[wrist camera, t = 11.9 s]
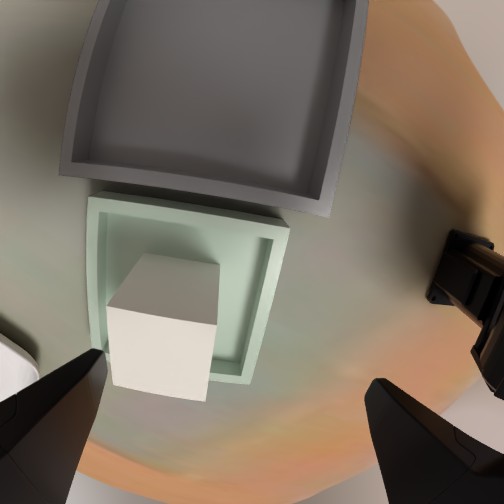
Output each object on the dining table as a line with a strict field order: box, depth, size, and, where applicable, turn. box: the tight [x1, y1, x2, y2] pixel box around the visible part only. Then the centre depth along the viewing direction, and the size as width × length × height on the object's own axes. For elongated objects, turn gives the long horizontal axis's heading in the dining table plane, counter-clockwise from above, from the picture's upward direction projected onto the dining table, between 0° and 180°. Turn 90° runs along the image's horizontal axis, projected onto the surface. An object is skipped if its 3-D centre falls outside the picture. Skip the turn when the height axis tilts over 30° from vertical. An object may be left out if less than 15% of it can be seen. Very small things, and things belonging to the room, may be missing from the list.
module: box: [106, 253, 220, 401], centre depth 16 cm, size 5×5×7 cm
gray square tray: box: [59, 0, 369, 217], centre depth 14 cm, size 16×16×3 cm
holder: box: [86, 191, 290, 385], centre depth 19 cm, size 12×12×2 cm
